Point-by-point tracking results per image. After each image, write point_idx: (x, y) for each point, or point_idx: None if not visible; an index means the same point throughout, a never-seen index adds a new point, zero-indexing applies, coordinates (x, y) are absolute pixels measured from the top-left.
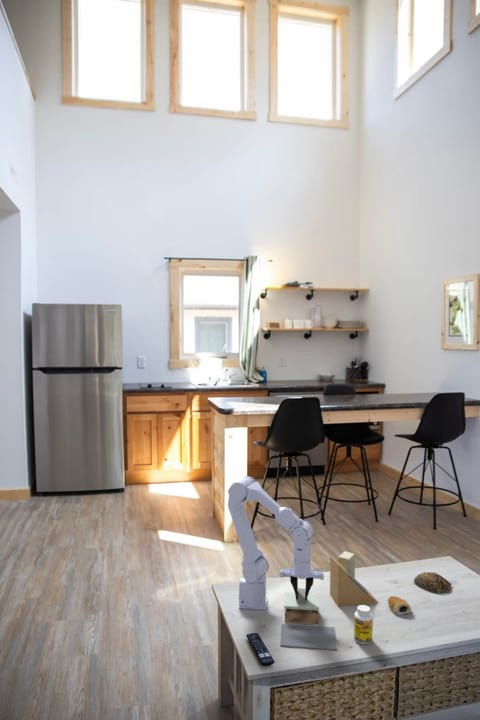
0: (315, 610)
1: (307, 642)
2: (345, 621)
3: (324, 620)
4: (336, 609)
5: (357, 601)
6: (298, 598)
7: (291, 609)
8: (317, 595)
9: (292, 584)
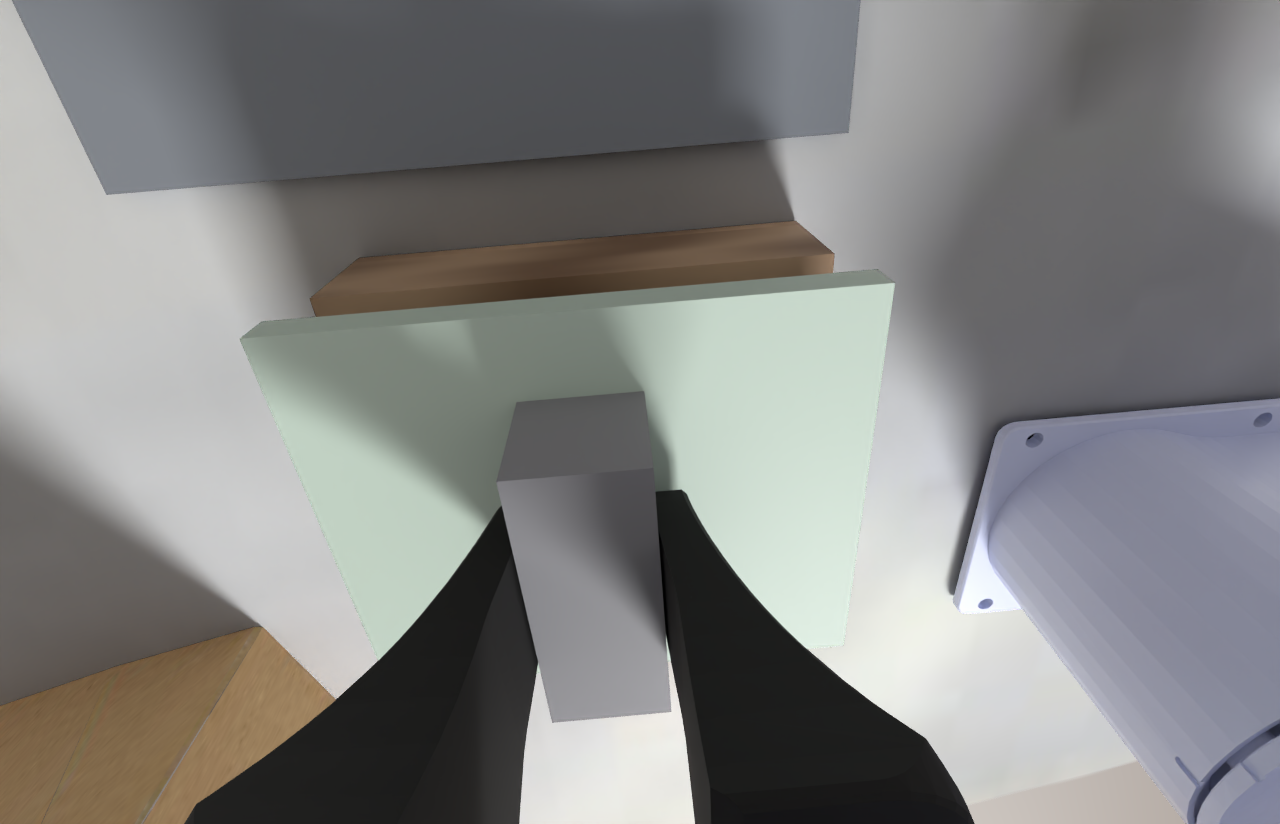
0: None
1: None
2: (58, 385)
3: None
4: (252, 576)
5: (61, 707)
6: (640, 448)
7: None
8: None
9: (862, 709)
